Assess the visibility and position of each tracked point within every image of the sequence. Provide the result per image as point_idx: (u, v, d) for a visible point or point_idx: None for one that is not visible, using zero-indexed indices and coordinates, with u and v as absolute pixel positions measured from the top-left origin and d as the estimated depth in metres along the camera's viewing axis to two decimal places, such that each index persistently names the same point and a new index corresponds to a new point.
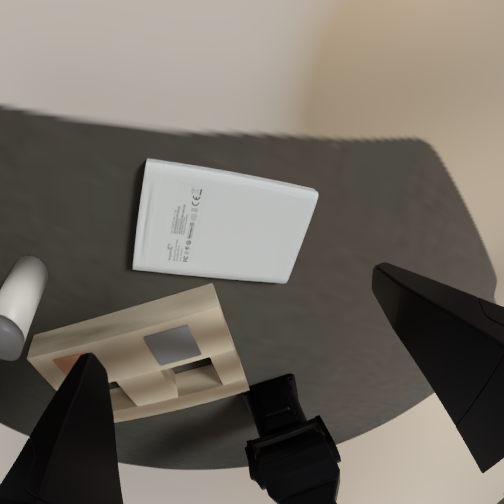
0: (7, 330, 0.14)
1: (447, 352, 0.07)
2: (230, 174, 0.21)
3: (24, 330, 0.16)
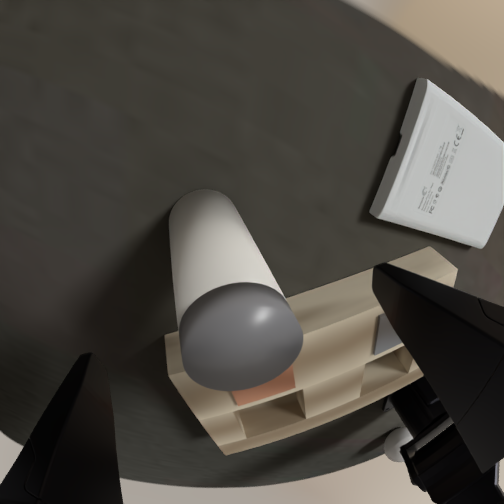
0: None
1: (447, 352, 0.07)
2: (480, 121, 0.15)
3: None
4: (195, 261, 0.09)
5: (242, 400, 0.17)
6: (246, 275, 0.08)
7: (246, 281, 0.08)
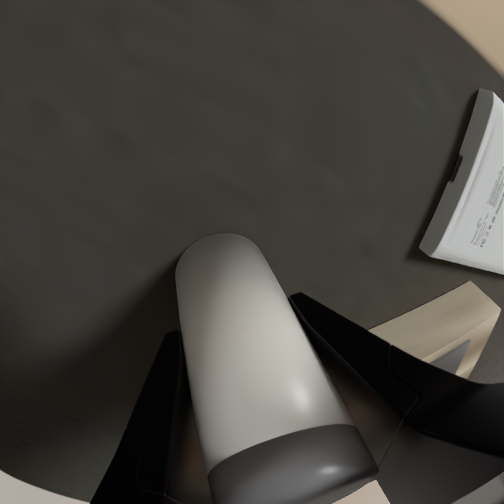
0: None
1: (352, 402, 0.06)
2: None
3: None
4: (225, 377, 0.06)
5: None
6: (310, 412, 0.05)
7: (312, 426, 0.05)
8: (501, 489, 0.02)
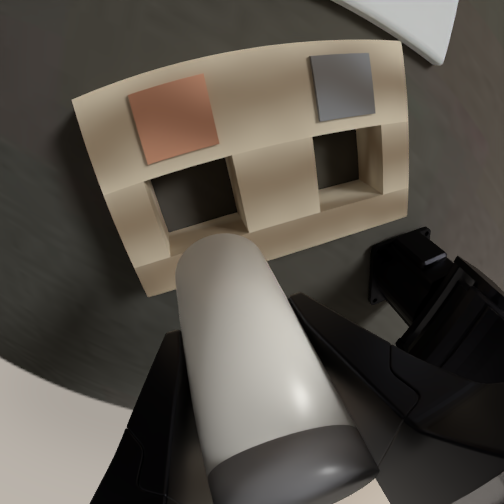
0: None
1: (352, 401, 0.06)
2: None
3: None
4: (225, 377, 0.06)
5: (152, 153, 0.14)
6: (310, 413, 0.05)
7: (312, 426, 0.05)
8: (501, 489, 0.02)
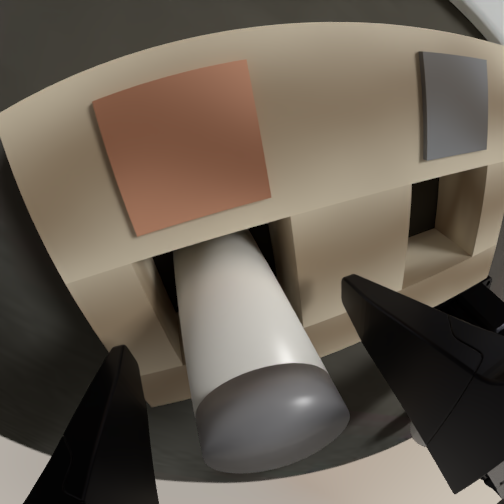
0: None
1: (413, 371, 0.07)
2: None
3: None
4: (212, 325, 0.07)
5: (145, 216, 0.08)
6: (283, 351, 0.06)
7: (284, 362, 0.06)
8: None
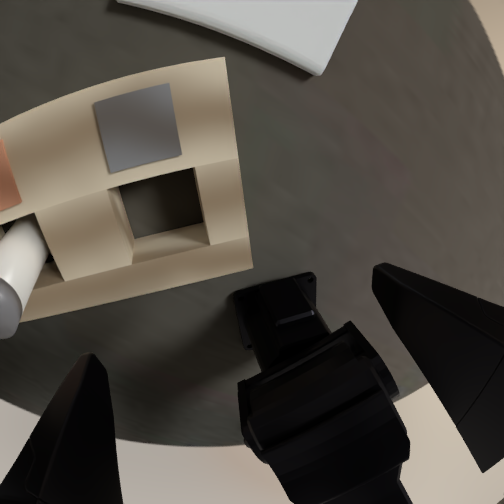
0: (1, 296, 0.11)
1: (447, 352, 0.07)
2: None
3: (23, 299, 0.12)
4: None
5: None
6: None
7: None
8: None
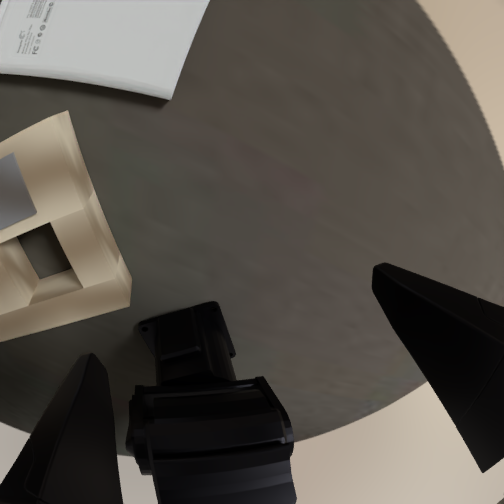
0: None
1: (447, 352, 0.07)
2: None
3: None
4: None
5: None
6: None
7: None
8: None
